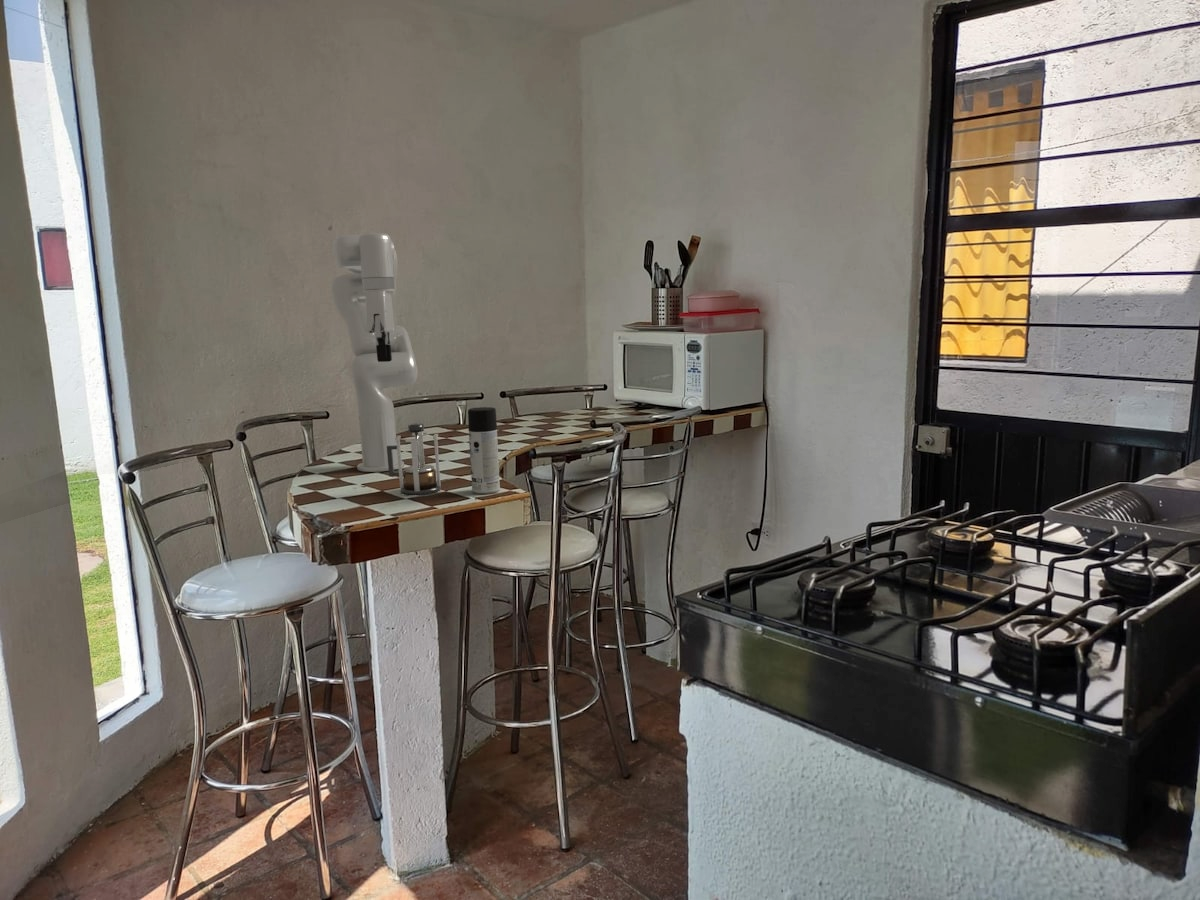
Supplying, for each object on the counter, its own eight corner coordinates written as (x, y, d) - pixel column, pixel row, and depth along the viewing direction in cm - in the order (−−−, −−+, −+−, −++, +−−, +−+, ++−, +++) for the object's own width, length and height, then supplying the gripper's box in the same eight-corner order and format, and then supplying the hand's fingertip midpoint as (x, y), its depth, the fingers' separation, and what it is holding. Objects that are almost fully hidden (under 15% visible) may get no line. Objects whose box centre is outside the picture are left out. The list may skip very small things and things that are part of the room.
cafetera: (394, 487, 216) (390, 433, 213) (443, 485, 216) (439, 431, 214) (387, 496, 206) (382, 440, 204) (437, 494, 207) (433, 438, 204)
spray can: (474, 488, 212) (469, 407, 208) (502, 487, 212) (497, 406, 208) (469, 494, 205) (464, 411, 202) (498, 494, 205) (493, 410, 201)
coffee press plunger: (406, 467, 214) (403, 422, 212) (436, 466, 214) (433, 421, 212) (401, 474, 207) (397, 427, 204) (431, 472, 207) (428, 426, 205)
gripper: (369, 286, 218) (375, 359, 221) (355, 286, 203) (362, 364, 207) (399, 285, 218) (405, 358, 221) (388, 285, 203) (394, 363, 207)
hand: (384, 361), depth 214 cm, fingers closed
